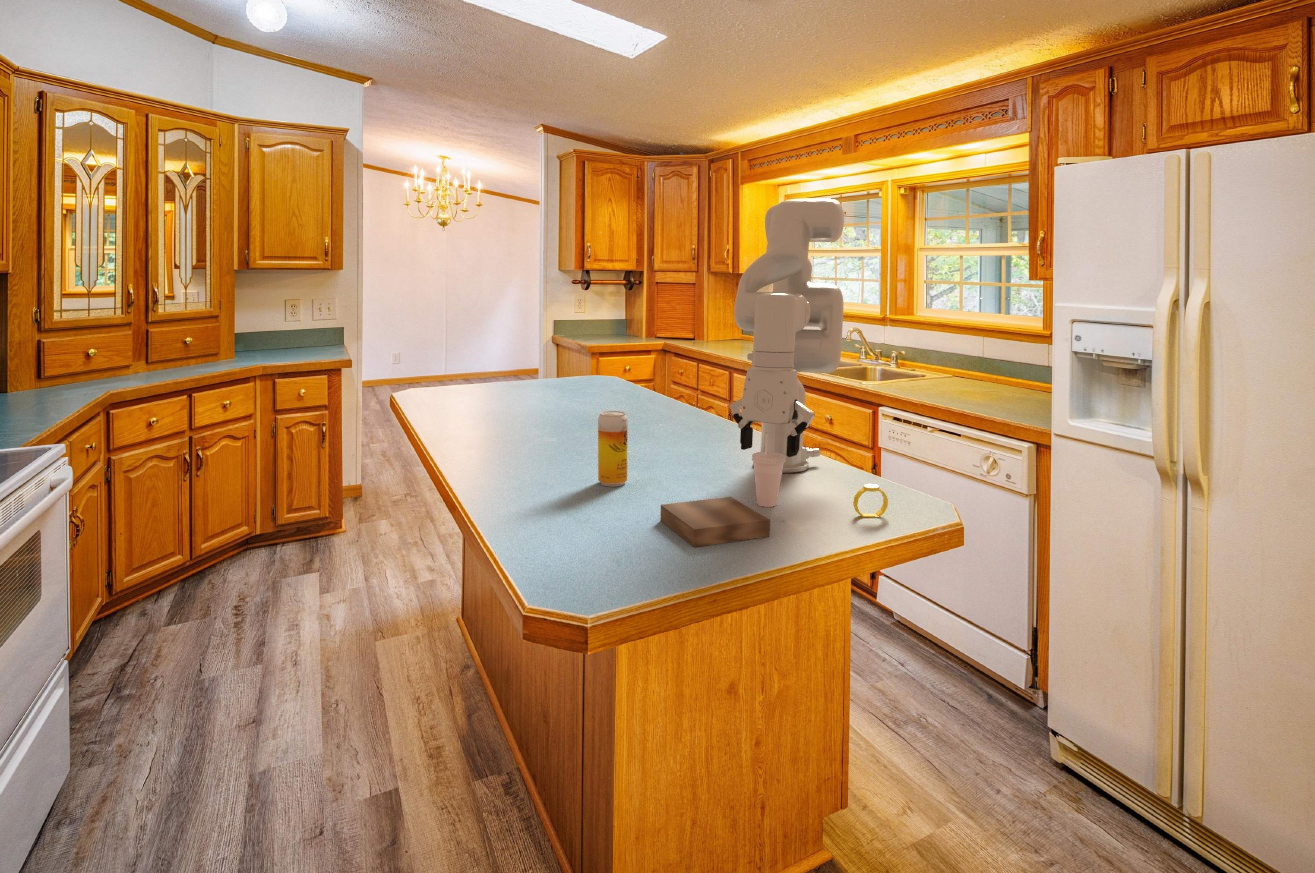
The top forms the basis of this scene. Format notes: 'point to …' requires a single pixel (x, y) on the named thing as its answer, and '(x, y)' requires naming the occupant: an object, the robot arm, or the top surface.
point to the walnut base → (714, 521)
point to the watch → (872, 488)
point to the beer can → (612, 448)
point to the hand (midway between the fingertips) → (768, 452)
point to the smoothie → (767, 475)
